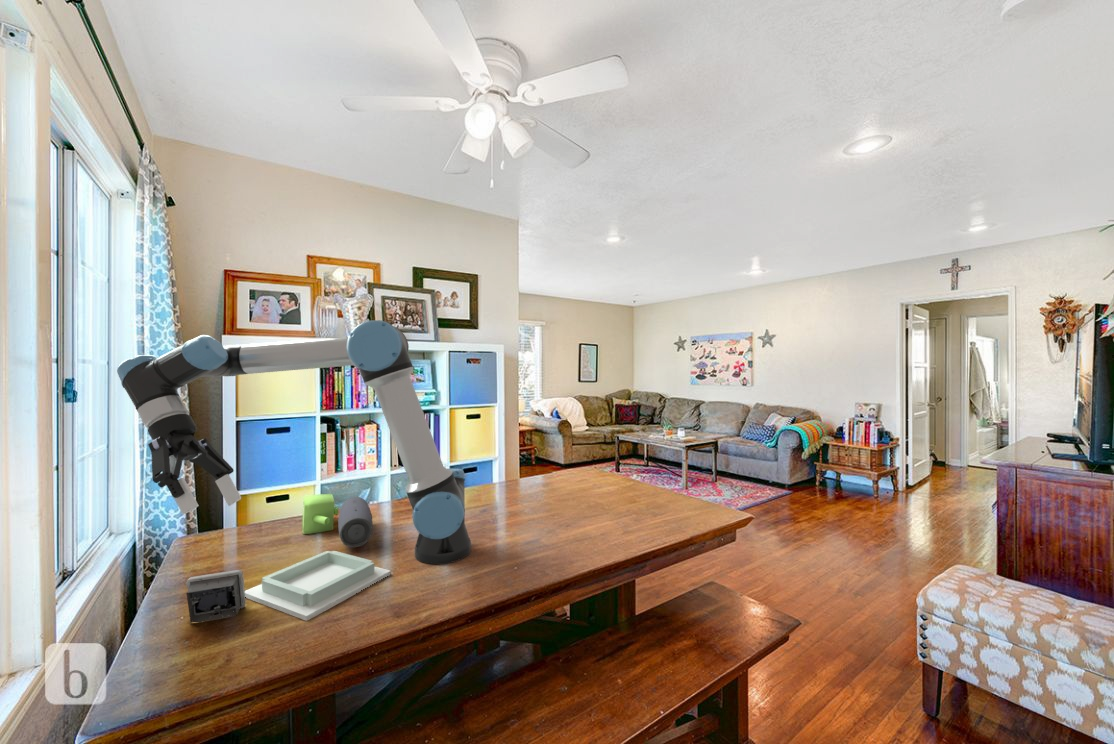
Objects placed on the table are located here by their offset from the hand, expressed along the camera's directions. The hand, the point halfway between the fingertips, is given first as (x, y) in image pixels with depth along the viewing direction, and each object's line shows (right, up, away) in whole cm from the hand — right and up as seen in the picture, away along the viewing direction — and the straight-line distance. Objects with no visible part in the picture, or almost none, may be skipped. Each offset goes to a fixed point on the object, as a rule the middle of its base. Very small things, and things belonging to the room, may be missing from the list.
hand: (214, 506), depth 93 cm
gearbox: (-3, -22, +48) cm, 53 cm away
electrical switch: (+2, -22, -2) cm, 23 cm away
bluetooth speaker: (+12, -22, +40) cm, 47 cm away
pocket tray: (+16, -22, +11) cm, 29 cm away
